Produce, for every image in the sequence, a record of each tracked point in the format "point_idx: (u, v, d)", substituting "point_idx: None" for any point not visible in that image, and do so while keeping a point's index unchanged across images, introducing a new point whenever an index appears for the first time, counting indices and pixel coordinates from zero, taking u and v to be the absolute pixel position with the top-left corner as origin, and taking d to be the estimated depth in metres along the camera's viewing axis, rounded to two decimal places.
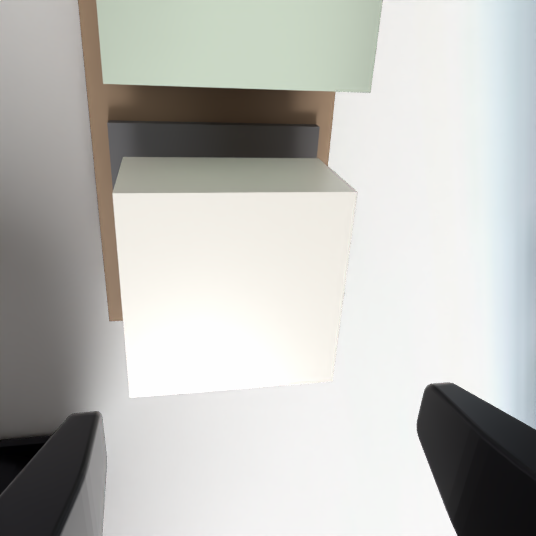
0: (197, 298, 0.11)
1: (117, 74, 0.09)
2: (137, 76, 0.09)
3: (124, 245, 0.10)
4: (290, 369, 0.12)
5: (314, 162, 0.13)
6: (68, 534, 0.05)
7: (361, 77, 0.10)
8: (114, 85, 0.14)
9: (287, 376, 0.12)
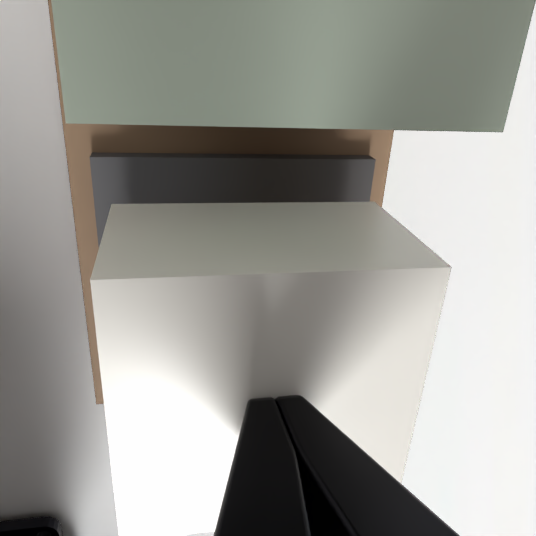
0: (216, 415, 0.08)
1: (90, 107, 0.05)
2: (125, 109, 0.05)
3: (109, 352, 0.07)
4: None
5: (371, 209, 0.10)
6: None
7: (492, 108, 0.06)
8: None
9: None
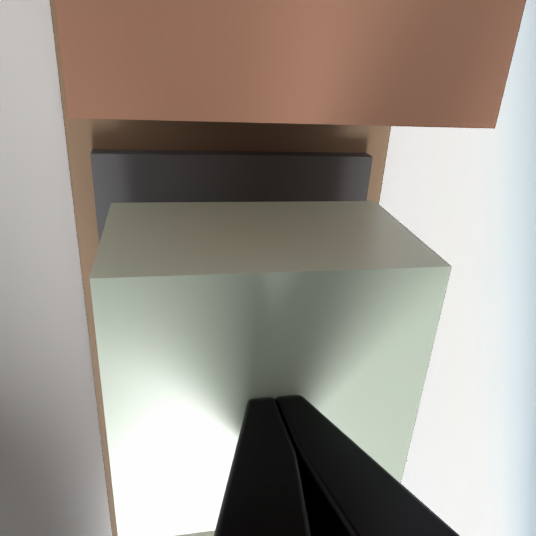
0: None
1: (133, 534, 0.08)
2: (154, 532, 0.09)
3: None
4: None
5: None
6: None
7: None
8: None
9: None
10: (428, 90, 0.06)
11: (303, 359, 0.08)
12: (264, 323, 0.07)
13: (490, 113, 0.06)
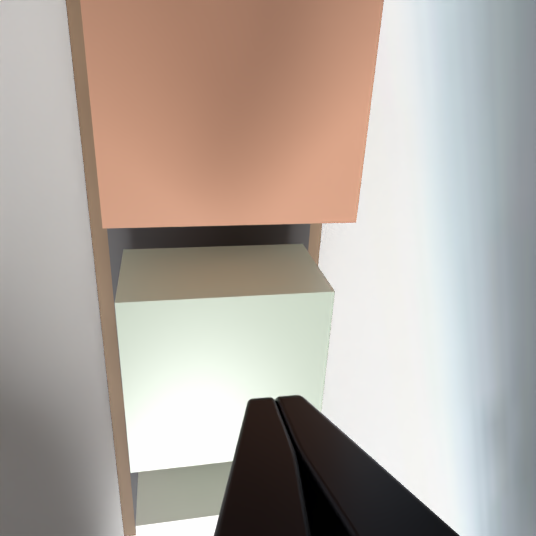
0: None
1: (140, 467, 0.13)
2: (154, 466, 0.13)
3: None
4: None
5: None
6: None
7: None
8: None
9: None
10: (311, 203, 0.10)
11: (245, 350, 0.12)
12: (219, 327, 0.12)
13: (351, 214, 0.10)
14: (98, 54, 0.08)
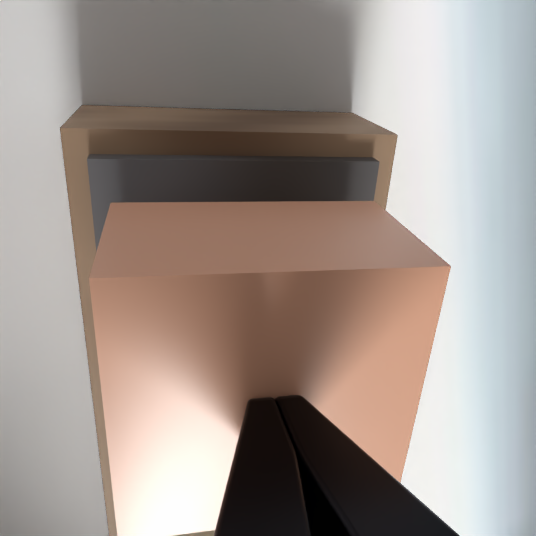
0: None
1: None
2: None
3: None
4: None
5: None
6: None
7: None
8: None
9: None
10: None
11: None
12: None
13: None
14: (117, 401, 0.07)
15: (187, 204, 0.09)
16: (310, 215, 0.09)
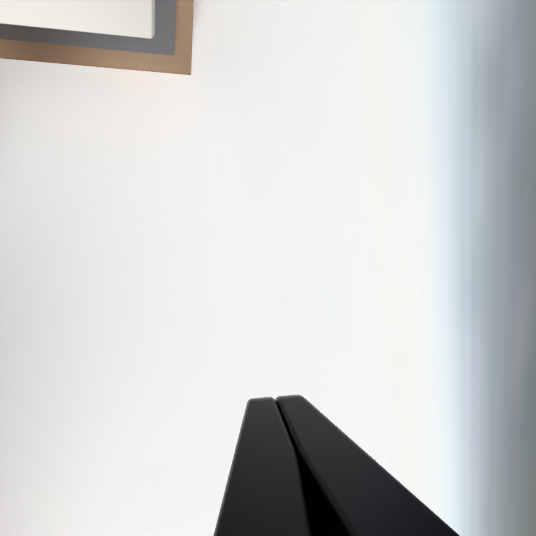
0: None
1: None
2: None
3: None
4: (91, 5, 0.10)
5: None
6: None
7: None
8: None
9: (87, 16, 0.10)
10: None
11: None
12: None
13: None
14: None
15: None
16: None
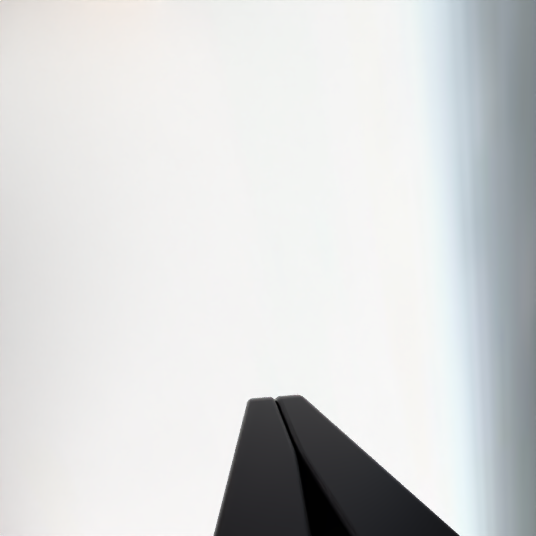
0: None
1: None
2: None
3: None
4: None
5: None
6: None
7: None
8: None
9: None
10: None
11: None
12: None
13: None
14: None
15: None
16: None
